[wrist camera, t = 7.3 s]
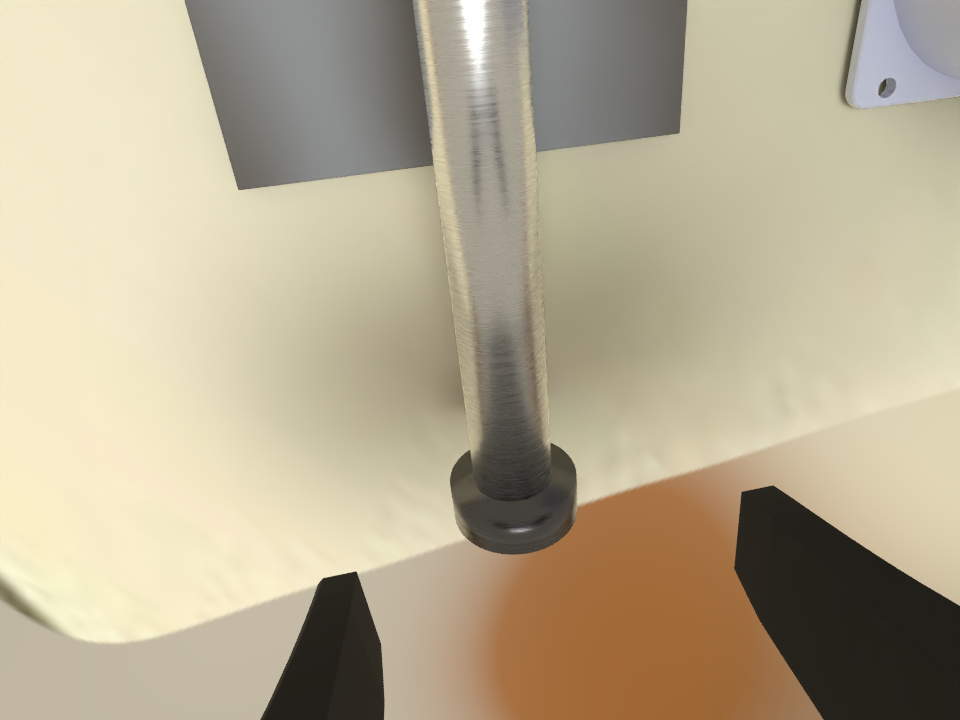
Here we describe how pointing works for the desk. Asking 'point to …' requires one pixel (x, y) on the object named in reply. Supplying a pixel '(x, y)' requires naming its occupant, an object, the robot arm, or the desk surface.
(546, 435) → the shaft
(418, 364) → the desk surface
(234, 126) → the bearing block
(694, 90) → the desk surface
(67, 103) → the desk surface
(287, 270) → the desk surface
